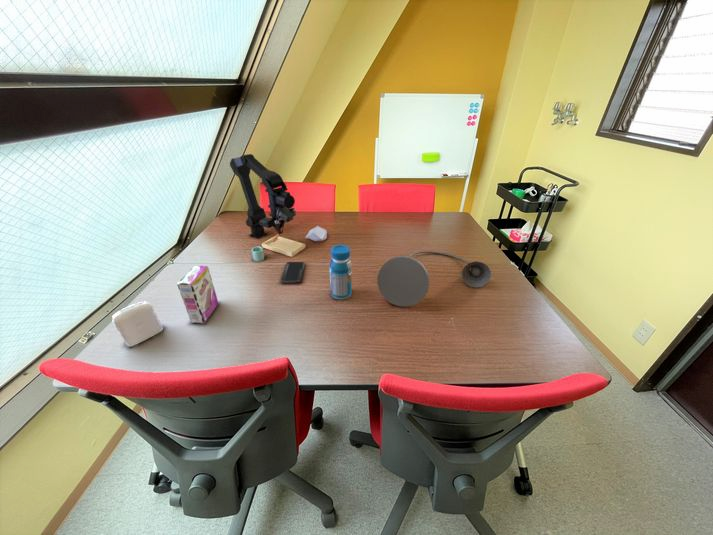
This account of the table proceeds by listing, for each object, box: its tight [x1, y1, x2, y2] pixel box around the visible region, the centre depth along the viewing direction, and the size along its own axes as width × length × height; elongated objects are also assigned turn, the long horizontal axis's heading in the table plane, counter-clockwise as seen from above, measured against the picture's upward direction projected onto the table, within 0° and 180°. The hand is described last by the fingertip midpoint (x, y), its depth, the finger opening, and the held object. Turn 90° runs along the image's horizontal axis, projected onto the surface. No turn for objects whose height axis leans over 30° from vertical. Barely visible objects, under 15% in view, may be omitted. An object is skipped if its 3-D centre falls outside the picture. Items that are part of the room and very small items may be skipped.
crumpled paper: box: [304, 225, 328, 242], centre depth 150 cm, size 9×7×13 cm
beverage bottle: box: [329, 244, 353, 300], centre depth 107 cm, size 8×8×20 cm
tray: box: [261, 235, 306, 258], centre depth 143 cm, size 19×11×2 cm, turn 62°
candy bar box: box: [176, 265, 219, 324], centre depth 98 cm, size 11×5×16 cm, turn 178°
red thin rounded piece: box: [273, 227, 284, 242], centre depth 141 cm, size 7×1×10 cm, turn 62°
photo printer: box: [111, 300, 164, 348], centre depth 89 cm, size 10×4×12 cm, turn 140°
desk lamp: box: [377, 250, 492, 308], centre depth 120 cm, size 18×45×40 cm
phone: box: [281, 261, 305, 284], centre depth 123 cm, size 8×1×15 cm
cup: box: [251, 246, 265, 262], centre depth 132 cm, size 5×5×5 cm
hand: (280, 233), depth 140 cm, fingers closed on red thin rounded piece, 1 cm apart
